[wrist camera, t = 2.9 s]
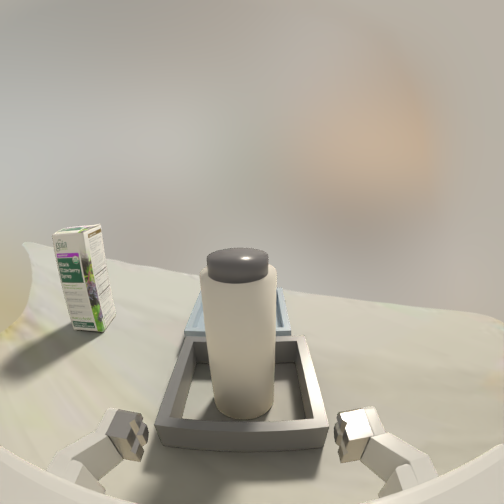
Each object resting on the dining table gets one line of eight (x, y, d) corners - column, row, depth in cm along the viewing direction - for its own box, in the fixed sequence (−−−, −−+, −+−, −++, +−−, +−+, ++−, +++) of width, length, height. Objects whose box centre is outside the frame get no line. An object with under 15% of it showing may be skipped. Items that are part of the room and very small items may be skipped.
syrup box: (72, 330, 34) (49, 234, 30) (88, 312, 40) (70, 224, 36) (104, 333, 34) (82, 231, 30) (117, 313, 40) (101, 222, 36)
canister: (211, 418, 22) (190, 270, 18) (217, 379, 27) (205, 246, 23) (275, 419, 22) (280, 268, 18) (272, 379, 27) (273, 245, 23)
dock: (163, 445, 18) (154, 424, 17) (189, 357, 31) (186, 336, 30) (323, 447, 18) (329, 426, 17) (302, 356, 31) (304, 335, 30)
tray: (186, 346, 33) (184, 330, 32) (202, 301, 45) (201, 288, 44) (290, 346, 33) (291, 330, 32) (281, 300, 45) (281, 287, 44)
